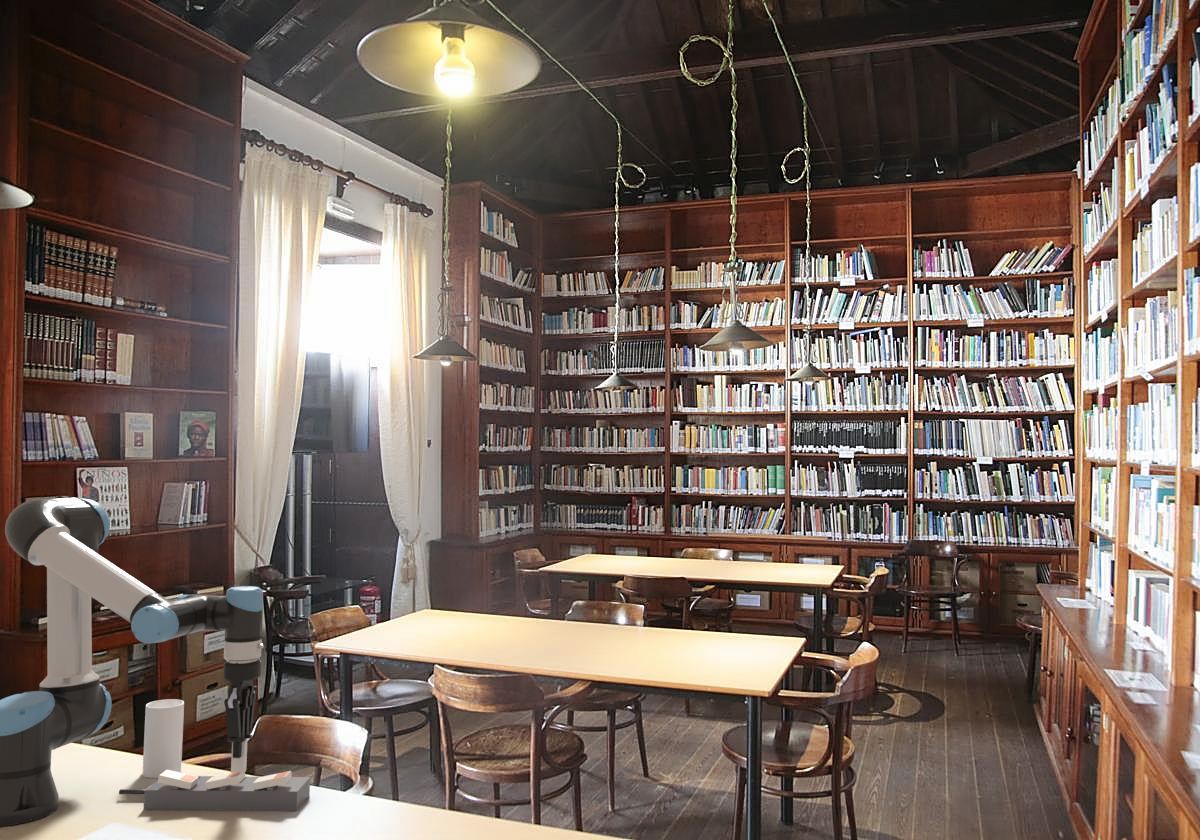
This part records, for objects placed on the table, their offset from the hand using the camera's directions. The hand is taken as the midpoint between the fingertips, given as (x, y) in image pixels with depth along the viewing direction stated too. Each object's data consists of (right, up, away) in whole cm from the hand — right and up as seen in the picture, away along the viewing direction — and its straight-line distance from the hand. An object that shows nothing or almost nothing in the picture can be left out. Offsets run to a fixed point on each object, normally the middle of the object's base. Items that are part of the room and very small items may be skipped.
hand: (238, 771), depth 191 cm
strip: (-7, -7, +2) cm, 10 cm away
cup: (-26, -8, +20) cm, 34 cm away
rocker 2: (-3, -2, 0) cm, 3 cm away
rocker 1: (-13, -2, 0) cm, 13 cm away
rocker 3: (+7, -2, 0) cm, 8 cm away
